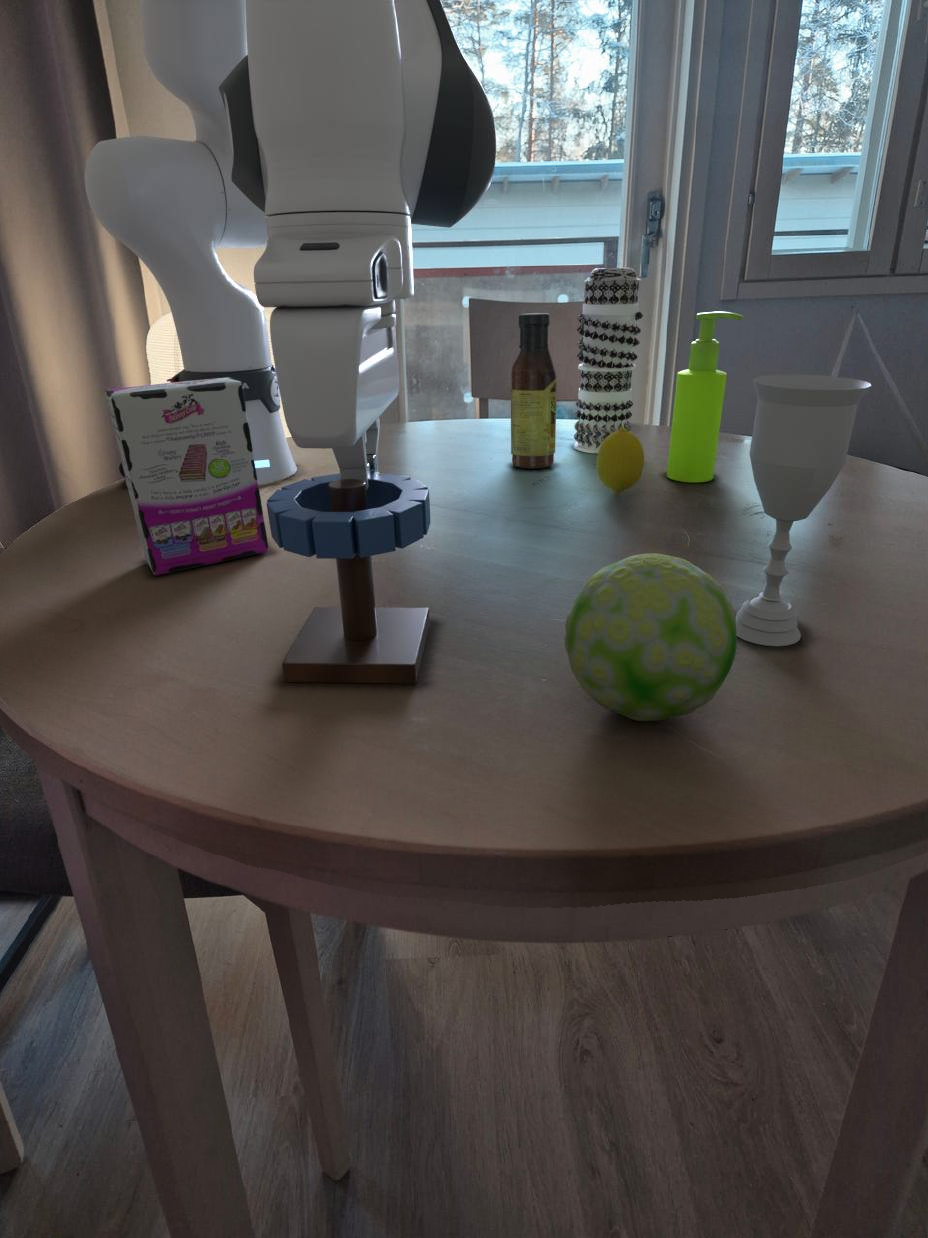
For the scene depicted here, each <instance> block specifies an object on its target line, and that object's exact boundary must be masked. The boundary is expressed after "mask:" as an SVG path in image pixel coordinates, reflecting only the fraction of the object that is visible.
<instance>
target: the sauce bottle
mask: <svg viewBox="0 0 928 1238" xmlns="http://www.w3.org/2000/svg"><path fill="white" fill-rule="evenodd" d="M550 323H551V321H550V313H549V312H547V313H546V312H534V313H533V312H532V313H531V312H530V313H521V314H519V315H518V328H519V345H518V347H519V349H520V350H519V353H518V355H517V357H516V359H515V360H514V362H513V364H512V367H511V373H510V375H511V388H510V455H512V456H511V462H512V465H513V466H514V467H516V468H519V469H525V470H526V469H528V470H533V469H545V468H548V467H551V466H552V465H553V464H554V461H555V453H556V434H557V433H556V430H557V427H556V426H557V385H558V384H557V381H558V377H557V372H556V369H555V366H554V362H553V359H552V355H551V352H550V349H549V326H550Z"/></svg>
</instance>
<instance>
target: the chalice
mask: <svg viewBox="0 0 928 1238" xmlns="http://www.w3.org/2000/svg"><path fill="white" fill-rule="evenodd" d="M752 383H753V386H754V389H755V392H756V395H757V402H756V409H755V416H754V422H753V428H752V435H751V442H750V449H749V459H750V464H751V470H752V477H753V481H754V484H755V487H756V490H757V493H758V496H759V499H760V502H761V505H762V508H763V511H764V514H765V515H766V516H768V517H771V518H772V519H773V520H775V532H774V535H773V537H772V540H771V541H770V542H769V543H768V544H767V546H768V548H769V550H770V559H769V562H768V564H766V566H763V567H762V571H763V573H764V574H765V580H766V585H765V587H764V589H763V591H762V592H760V593H759V595H754V596H751V597H750V598H748V599H747V600H745V601H744V602H743V603H742V605H741V608H740V609H739V610H738V611H737V612H736V613H735V618H736V635H737V638H740V639H741V640H744V641H746V642H748V643H752V644H756V645H760V646H768V647H785V646H790V645H794V644H796V643H797V642H799V641H800V640H801V637H802V634H801V632H800V629H799V628H798V625H799V622H798V620H797V617H796V611H795V609H794V607H793V606H792V604H791V602H789V601H788V600H786V599H784V598H783V596H782V595H781V593H780V585H781V583H782V581H783V579H784V577H786V576H787V575H789V573H790V572H789V570H788V569H787V568H786V563H785V559H786V557H787V555H788V553H789V552H790V551H791V550H792V549H793V546H792V545H791V540H790V539H791V538H790V531H791V529H792V526H793V524H794V522H798V521H802V520H803V521H804V520H805V519H807V518H808V517H809V516H810V514H812V512H813V511H814V510H815V508H816V507H817V506H818V505H819V503H820V502H821V501H822V499H823V498H824V497H825V495H826V494H827V493H828V492H829V491H830V490H831V488H832V486H833V484H835V483H834V482H835V481H836V479H837V478H838V476H839V474H840V473H841V471H842V469H843V468H844V466H845V464H846V462H847V456H848V452H849V449H850V443H851V439H852V433H853V429H854V424H855V419H856V415H857V410H858V405H859V402H860V401H862V398H863V397H864V396H865V394H866V393H868V391H869V390H870V388H871V387H872V384H871V382H868V381H866V380H861V379H856V378H850V377H842V376H833V375H831V376H830V375H821V374H820V375H819V374H818V375H817V374H771V375H762V376H756V377H754V378H753V379H752Z"/></svg>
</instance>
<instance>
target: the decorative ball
mask: <svg viewBox="0 0 928 1238" xmlns="http://www.w3.org/2000/svg"><path fill="white" fill-rule="evenodd" d="M735 617H736V612H735V610H734V607H733V604H732V602H731V601H730V599H729V598H728V597H727V594H726V592H725V590H724V589H723V587H721V585H720V584H719V583H718V582H717V580H716V579H715V578H714V577H712V575H710V574H709V573H707V572H705V571H704V570H702V569H701V567H699V566H696V565H694V564H693V563H692V562H690V561H688V560H686V559H684V558H681V557H678V556H672V555H668V554H664V553H655V552H653V553H650V552H649V553H639V554H634V555H629V556H627V557H626V558H623V559H622V560H618V561H616V562H614V563H610V564H609V565H606V566H604V567H602V568H600V569H599V570H598V571H597V572H595V573H594V574H593V575H591V577H589V579H587V580H586V582H585V583H584V585H583V587H582V589H580V592H579V593H578V595H577V597H576V599H575V600H574V602H573V603H572V606H571V608H570V610H569V611H568V613H567V616H566V620H565V624H564V625H565V626H564V627H565V635H564V648H565V652H566V654H567V657H568V664H569V667H570V670H571V672H572V674H573V677H574V678H575V680H576V682H577V683H578V684H579V686H580V687H581V688H582V690H583V691H584V692H585V693H586V694H587V695H588V696H589V697H590V698H591V699H592V700H594V701H595V702H596V703H597V704H598V705H599V706H601V707H603V708H605V709H607V710H609V711H613V712H614V713H617V714H619V715H622V716H624V717H626V718H629V719H631V720H633V721H637V722H651V721H655V722H658V721H664V720H668V719H673V718H678V717H683V716H688V715H690V714H693V713H694V712H695V711H696V710H697V709H699V708H701V707H703V706H705V705H706V704H709V702H710V701H712V700H713V699H714V697H715V696H716V694H717V693H718V691H719V690H720V688H721V687H722V685H723V683H724V682H725V680H726V678H727V676H728V675H729V674H730V671H731V669H732V666H733V664H734V661H735V659H736V654H737V645H738V644H737V642H738V641H737V639H738V636H737V635H736V618H735Z"/></svg>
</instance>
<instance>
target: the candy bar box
mask: <svg viewBox="0 0 928 1238" xmlns="http://www.w3.org/2000/svg"><path fill="white" fill-rule="evenodd" d="M104 395H105V400H106V404H107V408H108V411H109V412H108V413H109V415H110V420H111V424H112V427H113V432H114V436H115V441H116V443H117V449H118V452H119V457H120V461H121V462H122V465H123V469H124V473H125V478H124V479H125V483H126V482H127V485H126V487H127V486H128V487H127V490H128V495H129V498H130V503H131V506H132V510H133V514H134V519H135V522H136V527H137V531H138V535H139V540H140V543H141V547H142V552H143V553H144V554H143V555H144V559H145V561H146V563H147V565H148V566H149V569H150V570H151V571H152V574H153V575H154V576H161V575H167V574H171V573H176V572H181V571H185V570H191V569H195V568H200V567H204V566H208V565H214V564H218V563H219V564H220V563H223V562H228V561H231V560H237V559H241V558H246V557H250V556H255V555H259V554H265V553H267V552H269V551H270V548H269V542H268V535H267V529H266V522H265V517H264V511H263V505H262V498H261V493H260V492H261V491H260V485H258V479H257V474H256V468H255V462H254V455H253V449H252V442H251V436H250V429H249V424H248V418H247V413H246V405H245V399H244V393H243V388H242V382H240V381H237V380H235V379H232V378H231V377H227V378H216V379H205V380H193V381H183V382H173V383H170V382H166V383H155V384H147V385H146V384H145V385H138V386H127V387H118V388H107V389H104Z"/></svg>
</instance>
